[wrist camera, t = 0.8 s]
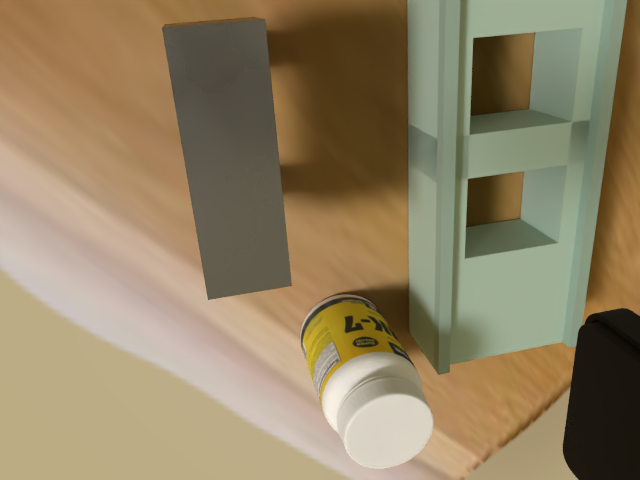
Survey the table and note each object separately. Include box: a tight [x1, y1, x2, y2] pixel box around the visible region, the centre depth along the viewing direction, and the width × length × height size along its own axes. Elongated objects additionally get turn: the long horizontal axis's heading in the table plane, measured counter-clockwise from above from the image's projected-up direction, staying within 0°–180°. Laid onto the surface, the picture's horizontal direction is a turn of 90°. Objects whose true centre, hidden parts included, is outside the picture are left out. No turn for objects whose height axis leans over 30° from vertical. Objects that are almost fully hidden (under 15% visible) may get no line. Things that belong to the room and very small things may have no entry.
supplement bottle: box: [300, 294, 434, 469], centre depth 27 cm, size 5×5×8 cm
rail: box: [407, 0, 627, 375], centre depth 27 cm, size 22×8×4 cm, turn 4°
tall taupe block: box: [162, 17, 292, 300], centre depth 22 cm, size 9×3×8 cm, turn 4°
